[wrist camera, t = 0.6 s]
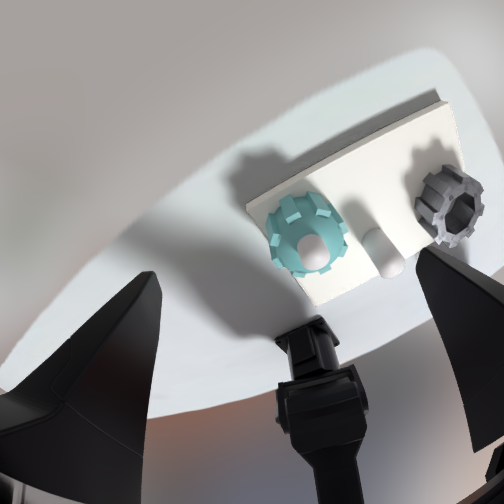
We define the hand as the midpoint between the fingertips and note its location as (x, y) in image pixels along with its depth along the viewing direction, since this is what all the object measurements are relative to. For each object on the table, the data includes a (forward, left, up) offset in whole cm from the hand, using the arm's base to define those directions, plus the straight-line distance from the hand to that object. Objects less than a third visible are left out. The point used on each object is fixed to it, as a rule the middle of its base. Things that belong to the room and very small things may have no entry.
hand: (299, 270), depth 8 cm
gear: (-11, -13, -12) cm, 21 cm away
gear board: (-9, -7, -13) cm, 18 cm away
